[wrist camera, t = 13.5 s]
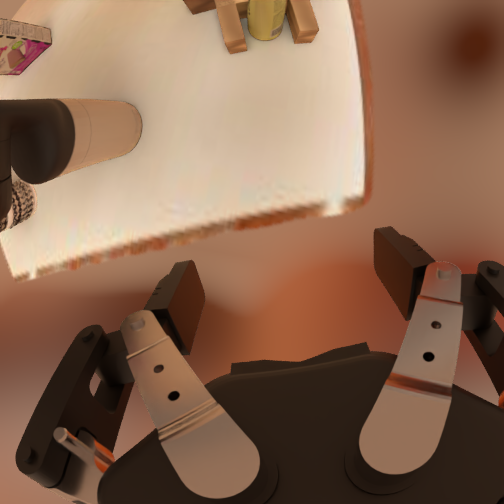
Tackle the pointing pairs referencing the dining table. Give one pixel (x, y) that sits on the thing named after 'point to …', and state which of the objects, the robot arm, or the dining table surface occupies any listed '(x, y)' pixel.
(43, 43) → the candy bar box
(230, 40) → the block
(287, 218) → the dining table surface
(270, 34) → the tube
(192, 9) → the wooden plank
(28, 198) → the decorative candle
